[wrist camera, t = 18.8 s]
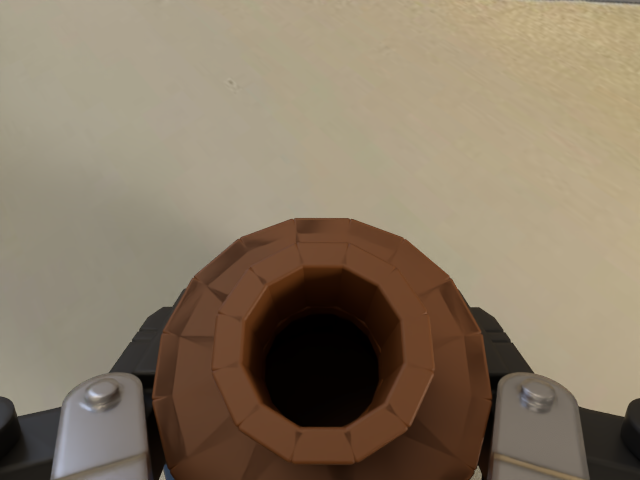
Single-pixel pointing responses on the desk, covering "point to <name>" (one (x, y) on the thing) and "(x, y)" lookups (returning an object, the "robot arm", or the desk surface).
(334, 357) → the bottle
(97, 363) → the desk surface
